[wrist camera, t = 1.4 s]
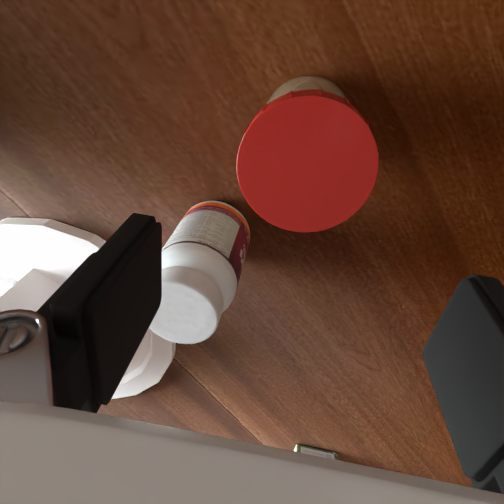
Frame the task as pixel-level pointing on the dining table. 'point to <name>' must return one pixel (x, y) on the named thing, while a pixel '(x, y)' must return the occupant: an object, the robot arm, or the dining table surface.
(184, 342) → the pill bottle
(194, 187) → the dining table surface
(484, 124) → the dining table surface
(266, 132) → the lid
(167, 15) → the dining table surface
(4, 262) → the dish
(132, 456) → the robot arm
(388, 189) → the dining table surface
